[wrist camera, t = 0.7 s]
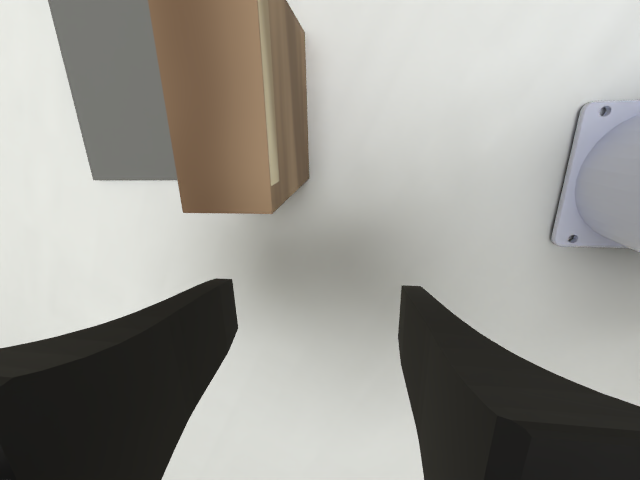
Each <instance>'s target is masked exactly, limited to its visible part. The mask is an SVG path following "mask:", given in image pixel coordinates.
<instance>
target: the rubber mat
mask: <svg viewBox="0 0 640 480" xmlns="http://www.w3.org/2000/svg"><path fill="white" fill-rule="evenodd" d="M48 2H49V6H50V10H51V14H52V18H53V22H54V26H55V30H56V34H57V38H58V42H59V46H60V50H61V54H62V58H63V62H64V66H65V69H66V73H67V77H68V81H69V85H70V89H71V93H72V97H73V101H74V105H75V109H76V113H77V117H78V121H79V125H80V129H81V133H82V137H83V141H84V145H85V149H86V153H87V157H88V161H89V165H90V169H91V173H92V177H93V180H178V179H177V173H176V167H175V161H174V155H173V149H172V143H171V137H170V131H169V125H168V119H167V113H166V107H165V101H164V95H163V89H162V83H161V77H160V71H159V65H158V59H157V53H156V47H155V41H154V35H153V29H152V23H151V17H150V10H149V4H148V0H48Z"/></svg>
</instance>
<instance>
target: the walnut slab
mask: <svg viewBox="0 0 640 480" xmlns="http://www.w3.org/2000/svg"><path fill="white" fill-rule="evenodd" d="M148 4H149V10H150V17H151V23H152V29H153V35H154V41H155V47H156V53H157V59H158V65H159V71H160V77H161V83H162V89H163V95H164V101H165V107H166V113H167V119H168V125H169V131H170V137H171V143H172V149H173V155H174V161H175V167H176V173H177V179H178V185H179V191H180V197H181V203H182V209H183V213H254V214H272V213H274V212H275V211H276V210H277V209H278V208H279V207H280V206H281V205H282V204H283V203H284V202H285V201H286V200H287V199H288V198H289V197H290V196H291V195H292V194H293V193H295V192H296V191H297V190H298V189H299V188H300V187H301V186H302V185H303V184H304V183H305V182H306V181H307V180H308V179H309V155H308V124H307V92H306V60H305V32H304V30H303V29H302V27H301V25H300V23H299V22H298V20H297V18H296V17H295V15H294V13H293V11H292V10H291V8H290V6H289V4H288V3H287V1H286V0H148Z"/></svg>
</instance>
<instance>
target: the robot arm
mask: <svg viewBox="0 0 640 480" xmlns="http://www.w3.org/2000/svg"><path fill="white" fill-rule="evenodd" d="M603 107H605V108H606V112H605V114H604V115H603V116H601V115H600V110H601V108H603ZM571 235H574V238H573V239H572V240H571V241H568V238H569V237H570V236H571ZM552 242H553V243H554V244H556V245H558V246H562V247H608V248H631V249H633V250H635V251H637V252H640V100H617V101H594V102H589V103H587V104H585V105H584V106H583V107H582V109H581V111H580V115H579V119H578V123H577V128H576V132H575V137H574V141H573V145H572V150H571V154H570V158H569V163H568V167H567V171H566V176H565V180H564V185H563V189H562V193H561V198H560V202H559V206H558V211H557V215H556V219H555V224H554V228H553V233H552ZM237 329H238V324H237V315H236V307H235V299H234V291H233V283H232V279H213V280H210V281H207V282H204V283H202V284H200V285H197V286H195V287H193V288H191V289H188V290H186V291H184V292H182V293H179V294H177V295H175V296H173V297H171V298H168V299H166V300H164V301H161V302H159V303H157V304H154V305H152V306H149V307H147V308H145V309H142V310H140V311H137V312H135V313H132V314H130V315H127V316H124V317H121V318H119V319H116V320H113V321H110V322H107V323H104V324H100V325H97V326H94V327H90V328H87V329H83V330H79V331H76V332H72V333H68V334H65V335H61V336H57V337H53V338H49V339H44V340H40V341H36V342H31V343H26V344H21V345H16V346H11V347H6V348H0V480H161V479H162V477H163V475H164V472H165V470H166V468H167V465H168V463H169V461H170V459H171V456H172V454H173V452H174V450H175V447H176V445H177V443H178V441H179V439H180V437H181V435H182V433H183V430H184V428H185V426H186V424H187V422H188V420H189V418H190V416H191V414H192V412H193V411H194V409H195V407H196V405H197V404H198V402H199V400H200V399H201V397H202V395H203V394H204V392H205V390H206V389H207V387H208V385H209V384H210V382H211V380H212V379H213V377H214V375H215V374H216V372H217V370H218V369H219V367H220V365H221V363H222V362H223V360H224V358H225V357H226V355H227V353H228V351H229V349H230V347H231V344H232V342H233V340H234V337H235V334H236V332H237ZM398 341H399V350H400V359H401V366H402V370H403V374H404V379H405V383H406V387H407V391H408V395H409V399H410V403H411V408H412V412H413V416H414V420H415V424H416V429H417V434H418V439H419V444H420V452H421V459H422V466H423V473H424V480H640V407H639V406H637V405H634V404H631V403H628V402H625V401H622V400H619V399H616V398H613V397H611V396H608V395H605V394H602V393H600V392H597V391H595V390H592V389H590V388H587V387H585V386H582V385H580V384H577V383H575V382H573V381H570V380H568V379H565V378H563V377H561V376H559V375H556V374H554V373H552V372H550V371H547V370H545V369H543V368H541V367H539V366H537V365H535V364H533V363H531V362H529V361H527V360H525V359H523V358H521V357H519V356H517V355H515V354H514V353H512V352H510V351H508V350H506V349H505V348H503V347H501V346H500V345H498V344H496V343H495V342H493V341H491V340H490V339H488V338H486V337H485V336H483V335H482V334H480V333H479V332H477V331H476V330H475V329H473V328H472V327H470V326H469V325H468V324H466V323H465V322H463V321H462V320H461V319H459V318H458V317H457V316H456V315H454V314H453V313H452V312H450V311H449V310H448V309H447V308H446V307H444V306H443V305H442V304H441V303H440V302H439V301H437V300H436V299H435V298H434V297H433V296H432V295H430V294H429V293H428V292H427V291H426V290H425V289H423V288H422V287H421V286H402V290H401V304H400V318H399V332H398Z"/></svg>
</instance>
